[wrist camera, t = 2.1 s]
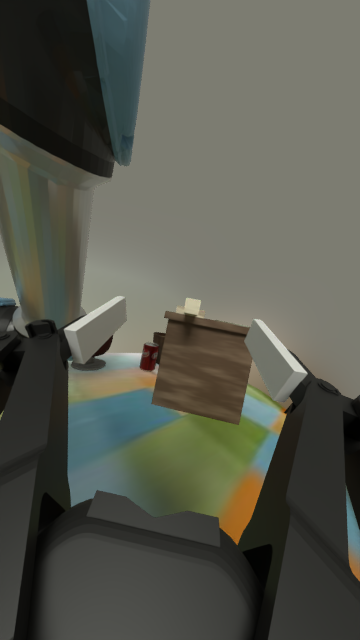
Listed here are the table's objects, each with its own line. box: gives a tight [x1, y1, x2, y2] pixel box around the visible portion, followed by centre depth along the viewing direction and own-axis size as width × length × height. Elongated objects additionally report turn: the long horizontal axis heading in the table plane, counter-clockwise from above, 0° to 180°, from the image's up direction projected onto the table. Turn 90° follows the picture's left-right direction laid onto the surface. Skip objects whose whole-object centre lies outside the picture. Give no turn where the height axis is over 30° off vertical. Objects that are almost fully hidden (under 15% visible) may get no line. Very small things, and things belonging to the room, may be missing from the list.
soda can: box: [140, 343, 159, 371], centre depth 67 cm, size 7×7×12 cm
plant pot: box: [153, 332, 166, 364], centre depth 81 cm, size 15×15×16 cm
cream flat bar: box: [176, 298, 205, 318], centre depth 41 cm, size 25×10×3 cm, turn 177°
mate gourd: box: [71, 335, 113, 371], centre depth 59 cm, size 16×14×20 cm
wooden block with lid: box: [152, 311, 253, 425], centre depth 47 cm, size 15×28×28 cm, turn 87°
